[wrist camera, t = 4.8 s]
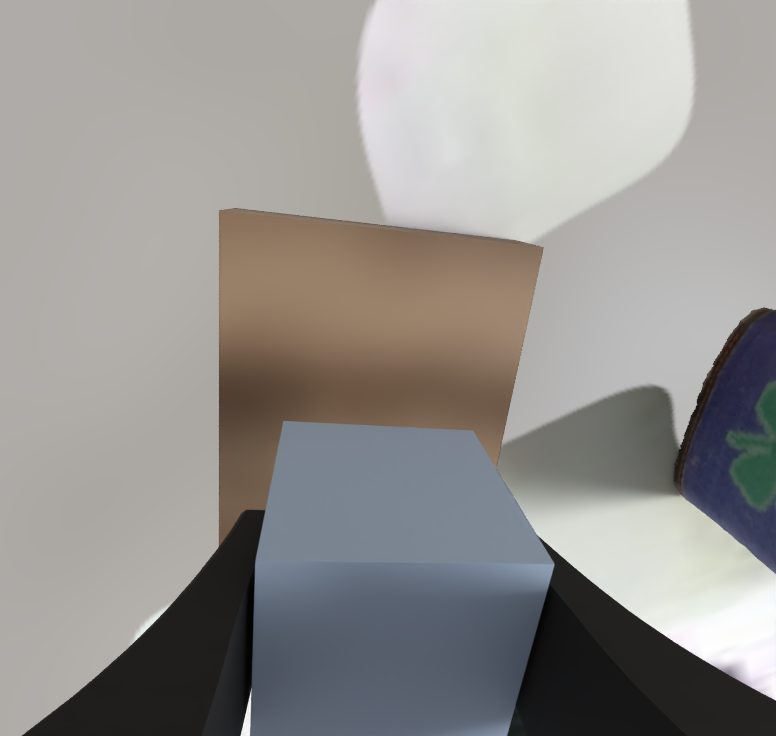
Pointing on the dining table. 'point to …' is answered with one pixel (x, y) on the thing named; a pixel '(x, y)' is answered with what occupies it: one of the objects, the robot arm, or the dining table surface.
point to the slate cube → (391, 586)
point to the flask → (737, 439)
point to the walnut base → (360, 335)
